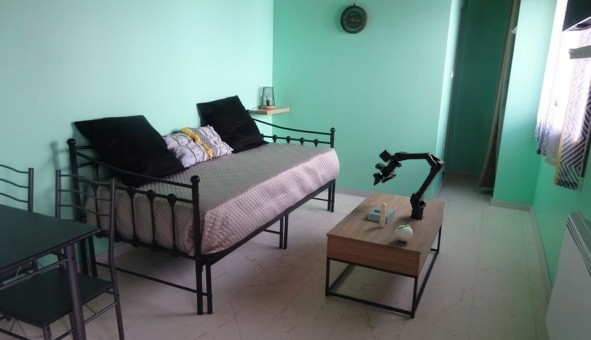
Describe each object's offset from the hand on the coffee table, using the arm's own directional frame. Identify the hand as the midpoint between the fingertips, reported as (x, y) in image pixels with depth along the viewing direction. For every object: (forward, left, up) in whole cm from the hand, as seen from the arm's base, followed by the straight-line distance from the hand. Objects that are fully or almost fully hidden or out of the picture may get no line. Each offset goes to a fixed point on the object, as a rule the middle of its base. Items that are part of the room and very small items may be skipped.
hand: (378, 184), depth 266 cm
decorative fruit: (-31, +50, -15) cm, 61 cm away
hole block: (-10, +21, -15) cm, 27 cm away
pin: (-15, +36, -15) cm, 41 cm away
